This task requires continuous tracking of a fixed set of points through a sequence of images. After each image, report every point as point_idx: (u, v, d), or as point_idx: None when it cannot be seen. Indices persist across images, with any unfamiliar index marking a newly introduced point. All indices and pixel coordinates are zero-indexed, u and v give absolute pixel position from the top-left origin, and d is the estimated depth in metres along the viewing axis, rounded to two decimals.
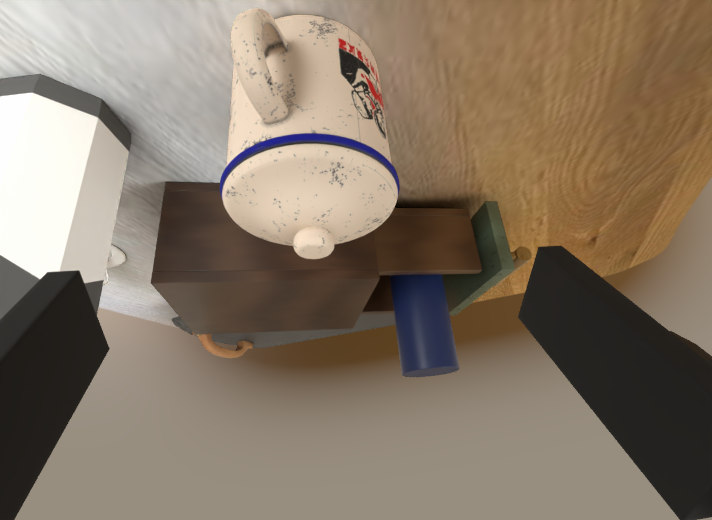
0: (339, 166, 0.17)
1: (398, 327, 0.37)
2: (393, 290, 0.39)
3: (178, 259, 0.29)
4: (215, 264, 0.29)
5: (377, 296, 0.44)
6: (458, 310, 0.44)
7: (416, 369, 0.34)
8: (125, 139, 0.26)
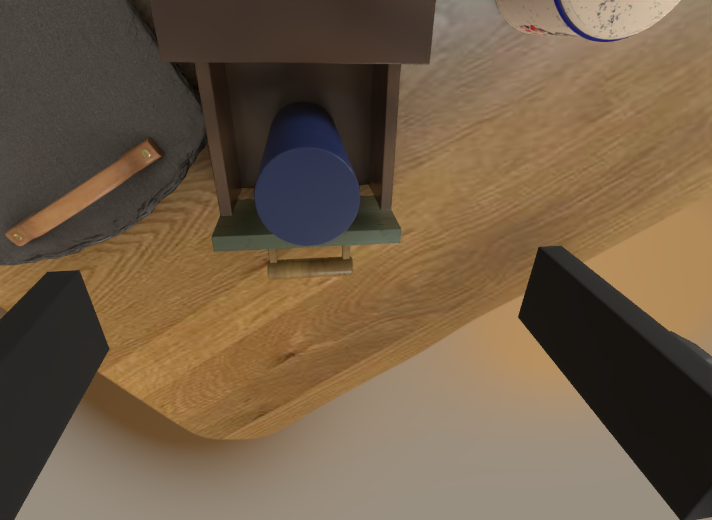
0: None
1: (311, 127, 0.22)
2: (307, 114, 0.25)
3: None
4: None
5: (220, 104, 0.25)
6: (240, 245, 0.28)
7: (343, 161, 0.19)
8: None
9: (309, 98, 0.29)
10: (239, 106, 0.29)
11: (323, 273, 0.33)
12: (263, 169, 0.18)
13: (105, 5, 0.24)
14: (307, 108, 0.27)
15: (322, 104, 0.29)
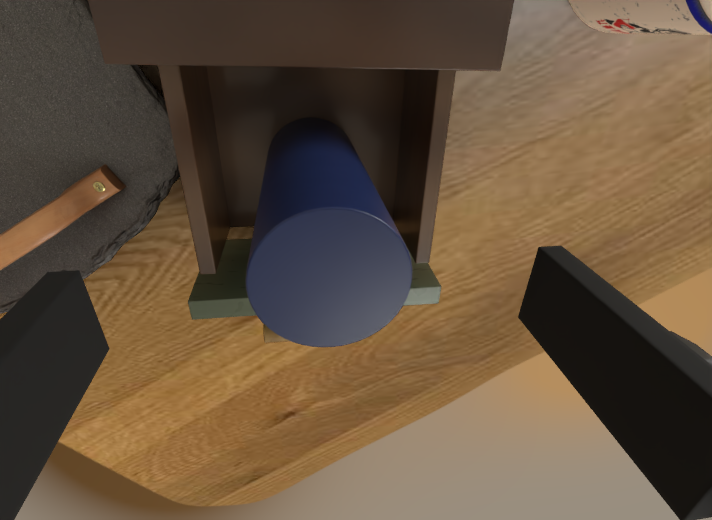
0: None
1: (332, 164, 0.15)
2: (322, 139, 0.18)
3: None
4: None
5: (199, 124, 0.18)
6: (227, 310, 0.21)
7: (390, 228, 0.12)
8: None
9: (320, 113, 0.22)
10: (227, 123, 0.22)
11: None
12: (260, 242, 0.11)
13: None
14: (319, 128, 0.20)
15: (336, 121, 0.22)
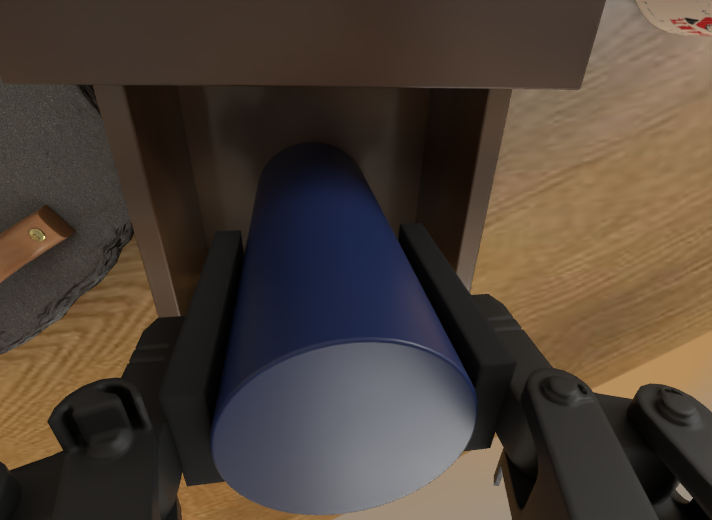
0: None
1: (345, 228, 0.10)
2: (328, 179, 0.13)
3: None
4: None
5: (162, 158, 0.13)
6: None
7: (450, 361, 0.07)
8: None
9: (323, 137, 0.17)
10: (204, 150, 0.17)
11: None
12: (232, 394, 0.07)
13: None
14: (323, 160, 0.15)
15: (344, 146, 0.18)
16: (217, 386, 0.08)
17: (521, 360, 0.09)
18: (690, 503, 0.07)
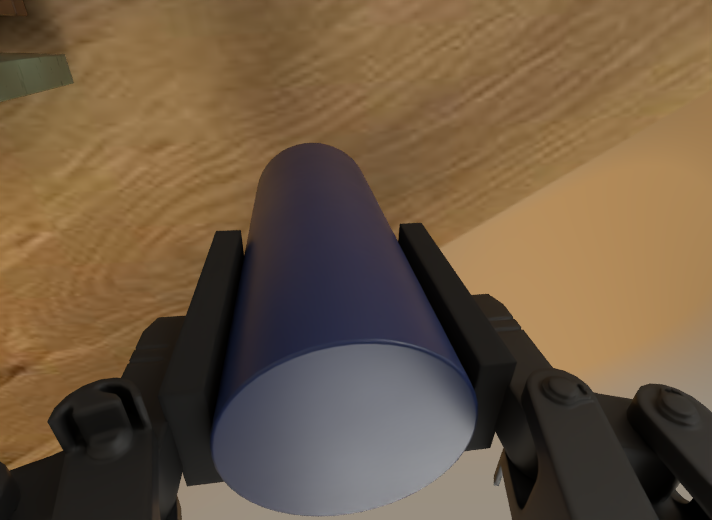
0: None
1: (345, 229, 0.10)
2: (328, 180, 0.13)
3: None
4: None
5: None
6: None
7: (450, 362, 0.07)
8: None
9: None
10: None
11: None
12: (232, 396, 0.07)
13: None
14: (323, 161, 0.15)
15: None
16: (217, 386, 0.08)
17: (521, 360, 0.09)
18: (690, 503, 0.07)
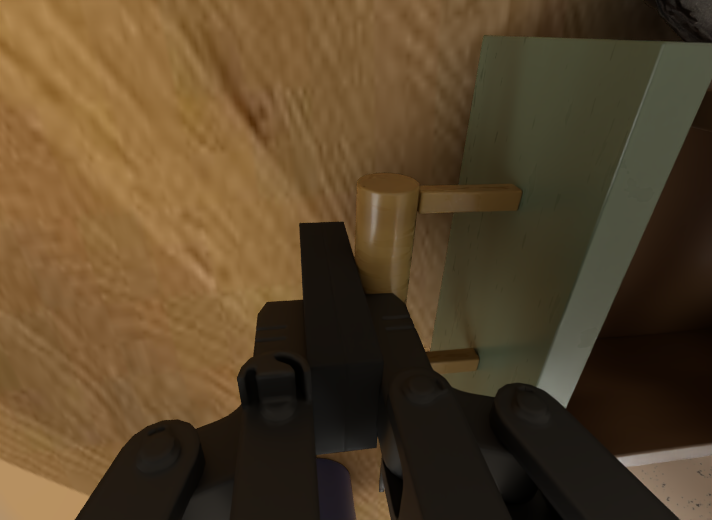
0: None
1: None
2: None
3: None
4: None
5: None
6: (642, 157, 0.07)
7: None
8: None
9: (675, 248, 0.16)
10: None
11: None
12: None
13: None
14: None
15: (656, 267, 0.17)
16: None
17: (402, 359, 0.09)
18: None
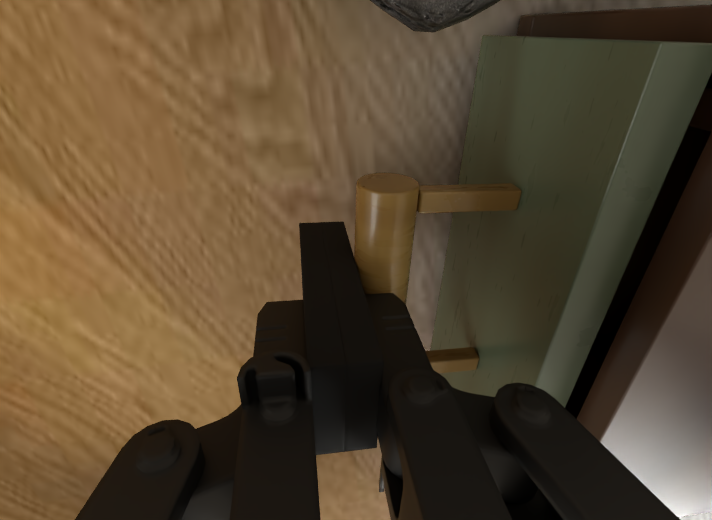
0: None
1: None
2: None
3: None
4: None
5: None
6: (640, 157, 0.07)
7: None
8: None
9: None
10: None
11: None
12: None
13: None
14: None
15: None
16: None
17: (402, 359, 0.09)
18: None
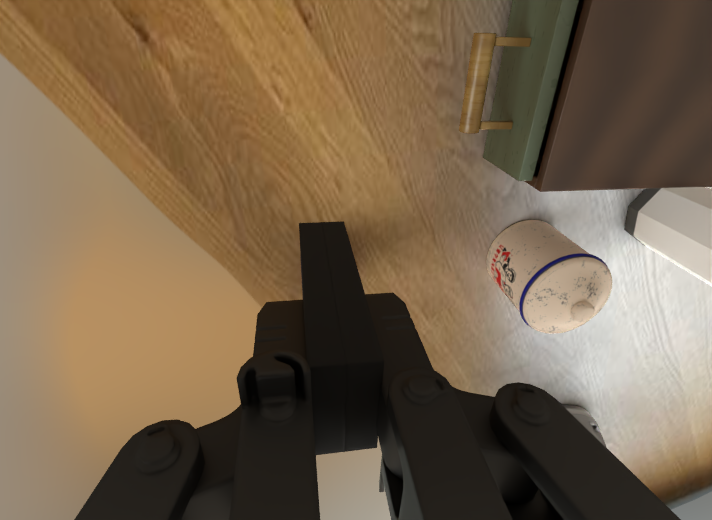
0: (550, 331, 0.39)
1: None
2: None
3: None
4: None
5: None
6: (566, 10, 0.26)
7: None
8: (633, 213, 0.44)
9: None
10: None
11: (476, 100, 0.30)
12: None
13: None
14: None
15: None
16: None
17: (402, 359, 0.09)
18: None
